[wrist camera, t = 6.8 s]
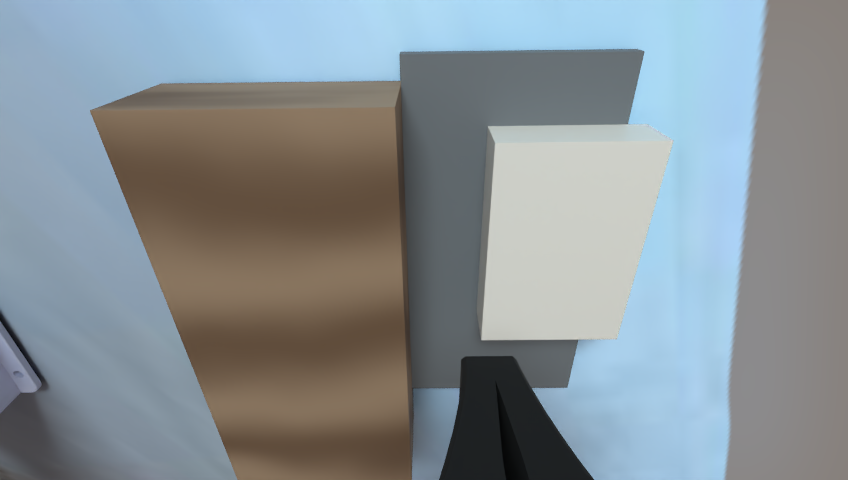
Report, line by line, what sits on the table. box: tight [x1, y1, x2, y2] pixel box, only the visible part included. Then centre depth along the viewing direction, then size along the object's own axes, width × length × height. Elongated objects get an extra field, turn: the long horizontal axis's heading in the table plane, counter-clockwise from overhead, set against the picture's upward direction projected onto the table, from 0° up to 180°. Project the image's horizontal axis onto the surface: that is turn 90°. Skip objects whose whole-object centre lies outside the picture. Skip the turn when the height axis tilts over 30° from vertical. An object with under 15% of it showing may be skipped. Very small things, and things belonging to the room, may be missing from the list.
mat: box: [400, 49, 644, 388], centre depth 20 cm, size 17×8×1 cm, turn 1°
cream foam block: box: [477, 124, 673, 340], centre depth 18 cm, size 9×6×2 cm, turn 1°
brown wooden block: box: [90, 81, 414, 480], centre depth 19 cm, size 19×9×4 cm, turn 1°
